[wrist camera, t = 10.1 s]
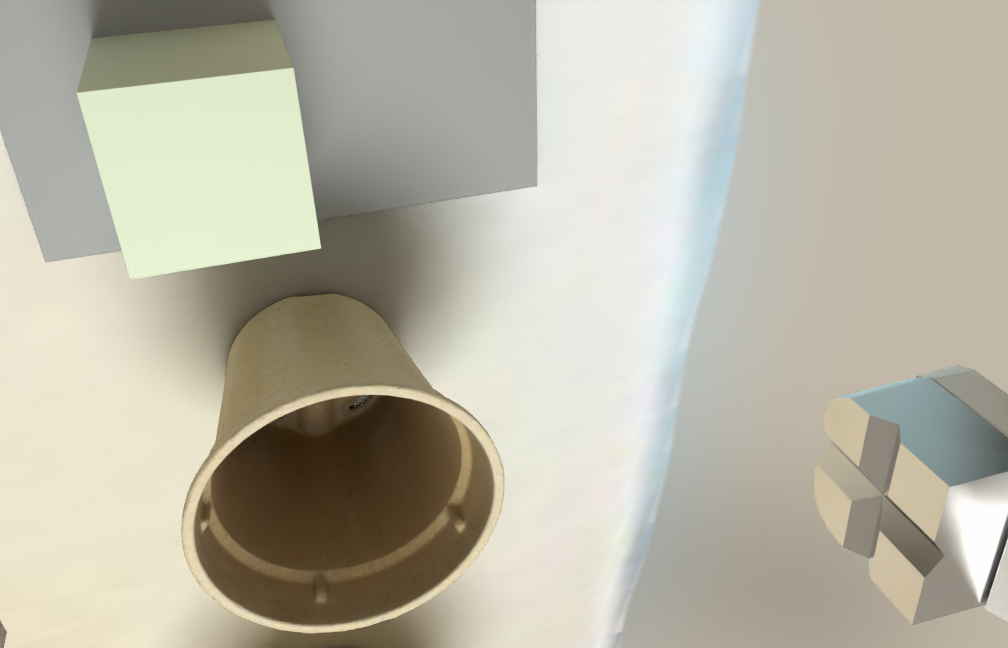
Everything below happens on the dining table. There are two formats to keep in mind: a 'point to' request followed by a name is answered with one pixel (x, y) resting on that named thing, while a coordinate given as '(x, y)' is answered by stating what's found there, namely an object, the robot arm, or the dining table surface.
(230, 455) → the flower pot
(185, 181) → the sage block
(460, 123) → the building board
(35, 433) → the dining table surface
